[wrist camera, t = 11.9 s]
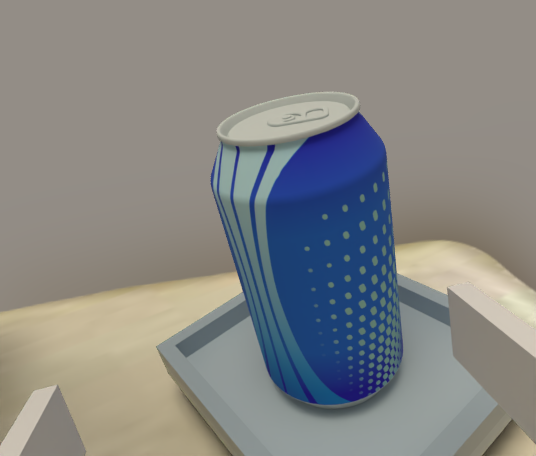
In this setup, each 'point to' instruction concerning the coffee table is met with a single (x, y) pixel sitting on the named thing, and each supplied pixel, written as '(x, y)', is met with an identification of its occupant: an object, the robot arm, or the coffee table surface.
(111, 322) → the coffee table surface
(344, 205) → the beer can
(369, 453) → the grey rimmed tray
